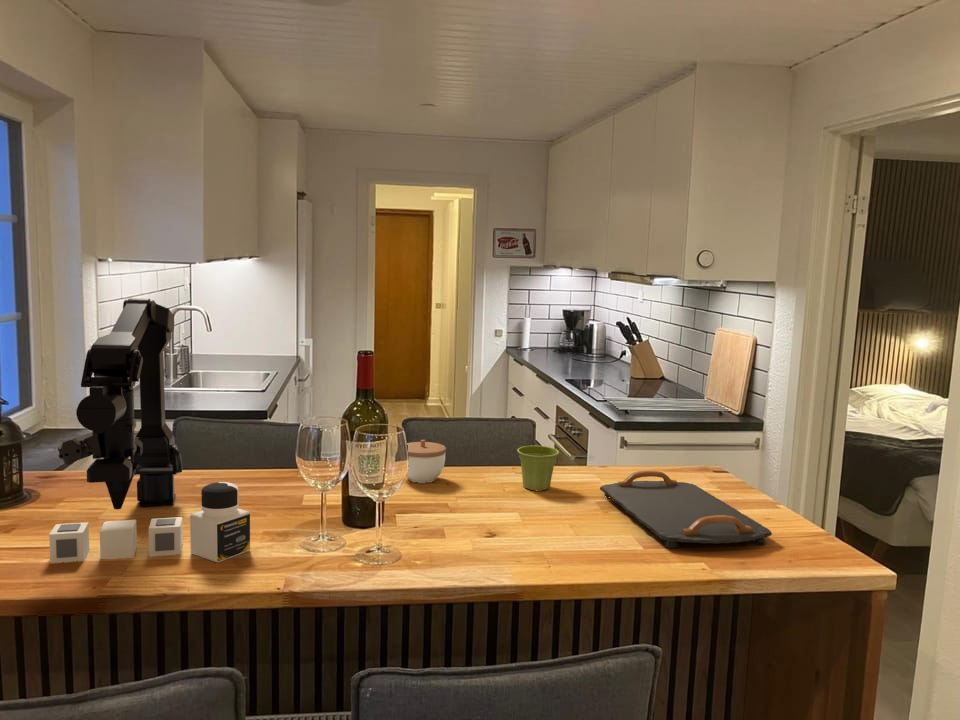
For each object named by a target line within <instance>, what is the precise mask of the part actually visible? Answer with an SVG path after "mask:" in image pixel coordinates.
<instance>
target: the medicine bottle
mask: <svg viewBox="0 0 960 720" xmlns="http://www.w3.org/2000/svg"><path fill="white" fill-rule="evenodd" d="M200 492H201V510H198V511H196V512H193V513H191V514H190V515H189V525H190V527H189V528H190V529H189V530H190V531H189V533H190V536H189V538H190V555H191V554H192V555H193V556H197V557H199V558H202V559H205V560H208V561H212V562H215V563H221V562H224V561H226V560H229V559H232V558H235V557H238V556H240V555H242V554H245V553H248V552H250V551H251V512H250V511H249V510H244V509H241V508H239V507H240V506H239V502H240V501H239V500H240V499H239V498H240V497H239V496H240V495H239V494H240V493H239V492H240V491H239V487H238V486H237V484H235V483H232V482H227V481H218V482H212V483H209V484H207V485H205V486H203V487H202V488H201V491H200Z"/></svg>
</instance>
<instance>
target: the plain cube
mask: <svg viewBox="0 0 960 720" xmlns="http://www.w3.org/2000/svg"><path fill="white" fill-rule="evenodd" d="M137 538H138V537H137V519H124V520H123V519H122V520H109V521H104V522H103V524H102V526H101V528H100V530H99V550H100V551H99V555H100V557H99V558H100V560H101V559H107V560H117V558H121V559H131V558H132V559H134V557H133V556H135V553H136V550H137V547H138V545H137V544H138V541H137ZM114 558H115V559H114Z"/></svg>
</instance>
